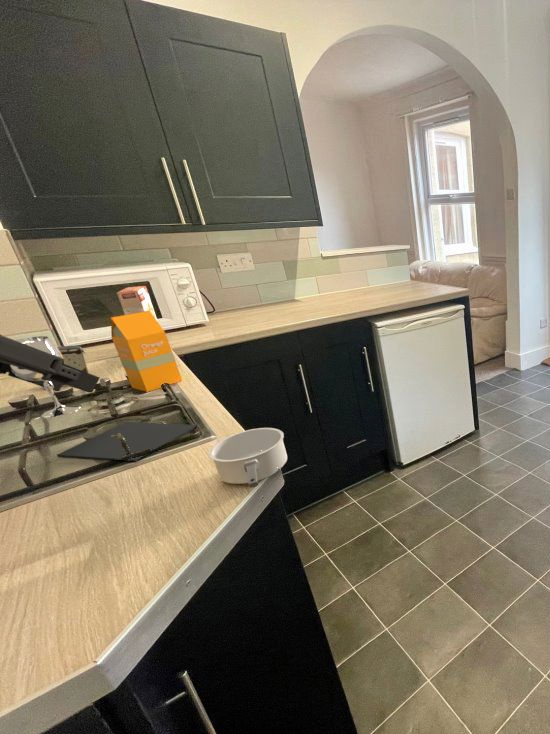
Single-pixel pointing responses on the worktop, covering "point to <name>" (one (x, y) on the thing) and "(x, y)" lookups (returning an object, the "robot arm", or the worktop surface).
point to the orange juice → (144, 351)
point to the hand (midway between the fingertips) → (77, 384)
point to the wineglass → (49, 347)
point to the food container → (73, 357)
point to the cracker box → (135, 300)
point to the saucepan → (249, 455)
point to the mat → (127, 440)
